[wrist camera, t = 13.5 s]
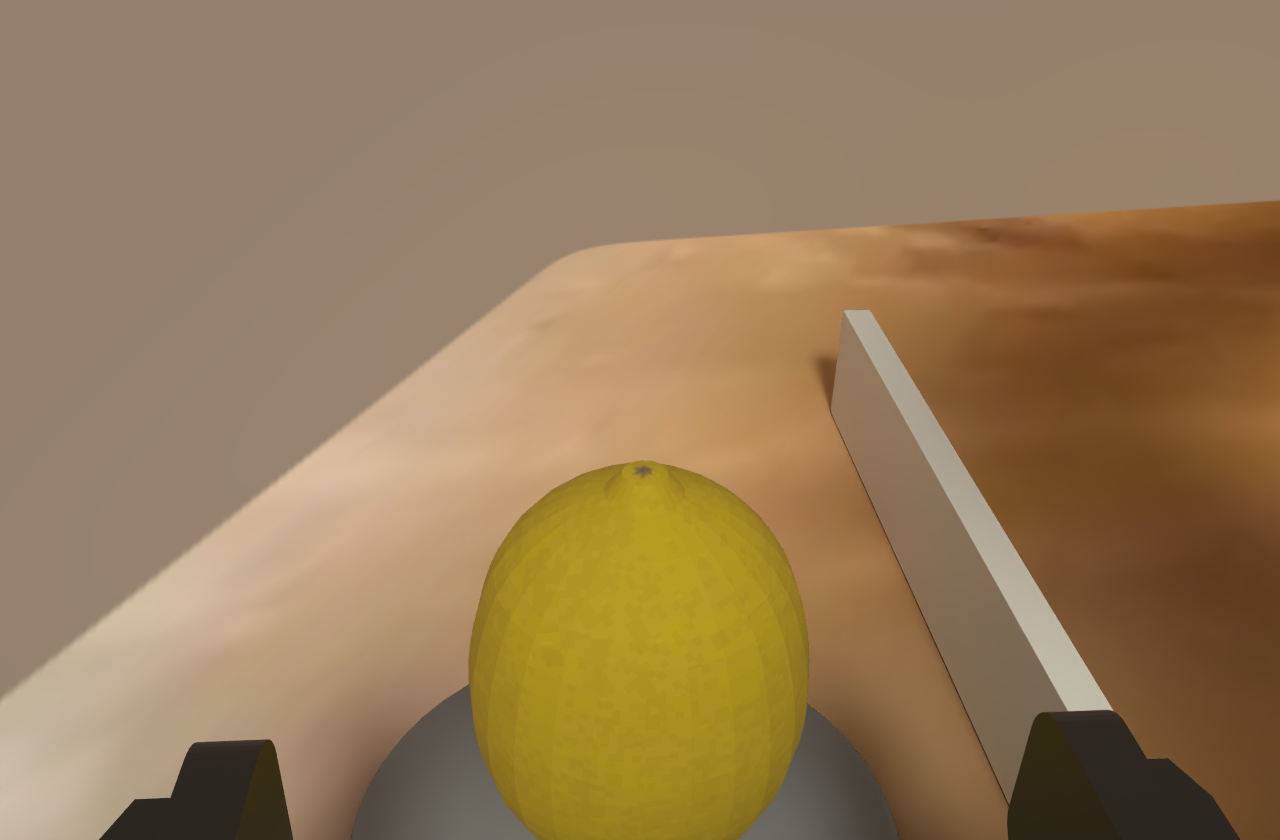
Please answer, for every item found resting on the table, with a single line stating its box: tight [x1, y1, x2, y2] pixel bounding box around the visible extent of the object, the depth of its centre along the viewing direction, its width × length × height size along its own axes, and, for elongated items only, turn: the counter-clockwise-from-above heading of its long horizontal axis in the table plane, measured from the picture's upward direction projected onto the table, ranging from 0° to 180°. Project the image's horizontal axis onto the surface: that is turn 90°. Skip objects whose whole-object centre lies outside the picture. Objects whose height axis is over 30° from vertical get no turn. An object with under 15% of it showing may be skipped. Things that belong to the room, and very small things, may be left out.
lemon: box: [469, 461, 809, 840], centre depth 18 cm, size 6×6×8 cm
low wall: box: [831, 310, 1113, 804], centre depth 24 cm, size 1×24×4 cm, turn 5°
